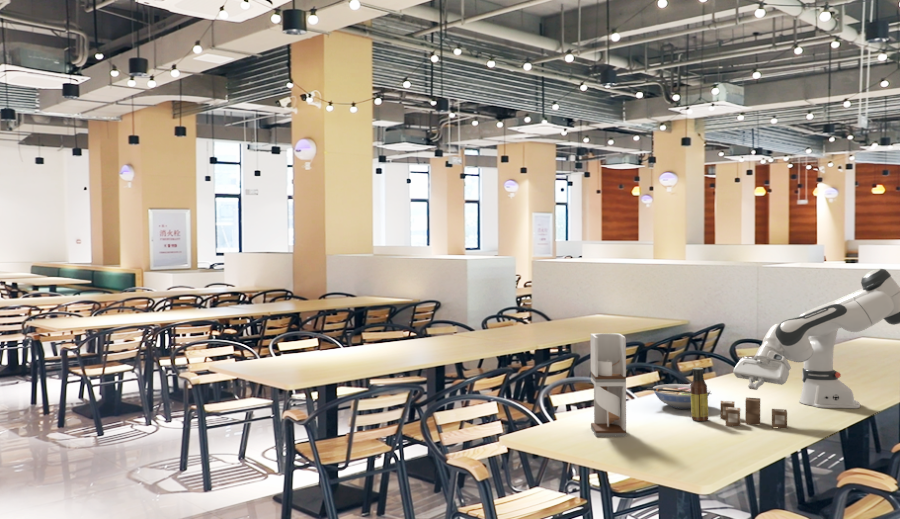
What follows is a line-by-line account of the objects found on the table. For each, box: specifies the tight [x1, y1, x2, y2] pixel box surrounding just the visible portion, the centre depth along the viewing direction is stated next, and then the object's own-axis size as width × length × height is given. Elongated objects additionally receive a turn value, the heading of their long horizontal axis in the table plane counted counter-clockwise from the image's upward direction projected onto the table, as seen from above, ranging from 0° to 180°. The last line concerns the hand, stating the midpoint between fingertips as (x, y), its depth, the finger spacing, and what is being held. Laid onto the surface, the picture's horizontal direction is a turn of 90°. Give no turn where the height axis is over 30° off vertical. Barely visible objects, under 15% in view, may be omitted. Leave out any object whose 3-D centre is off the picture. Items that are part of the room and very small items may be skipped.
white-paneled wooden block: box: [725, 406, 741, 427], centre depth 289 cm, size 5×5×6 cm
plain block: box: [744, 397, 761, 425], centre depth 291 cm, size 5×5×9 cm
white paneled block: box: [720, 400, 735, 420], centre depth 300 cm, size 5×5×6 cm
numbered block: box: [771, 408, 788, 429], centre depth 285 cm, size 5×5×6 cm
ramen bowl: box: [646, 383, 712, 410], centre depth 319 cm, size 25×23×8 cm
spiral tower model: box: [589, 332, 627, 437], centre depth 279 cm, size 11×11×35 cm
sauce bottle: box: [689, 367, 709, 422], centre depth 296 cm, size 6×6×20 cm
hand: (752, 388), depth 291 cm, fingers closed
